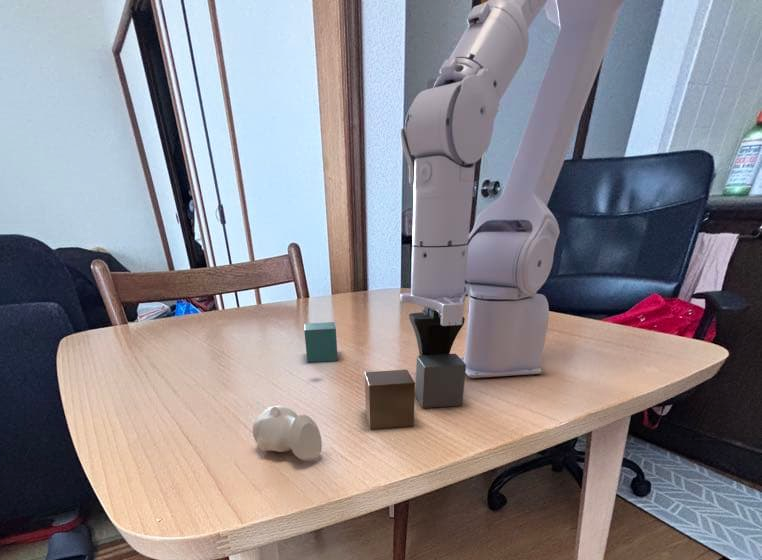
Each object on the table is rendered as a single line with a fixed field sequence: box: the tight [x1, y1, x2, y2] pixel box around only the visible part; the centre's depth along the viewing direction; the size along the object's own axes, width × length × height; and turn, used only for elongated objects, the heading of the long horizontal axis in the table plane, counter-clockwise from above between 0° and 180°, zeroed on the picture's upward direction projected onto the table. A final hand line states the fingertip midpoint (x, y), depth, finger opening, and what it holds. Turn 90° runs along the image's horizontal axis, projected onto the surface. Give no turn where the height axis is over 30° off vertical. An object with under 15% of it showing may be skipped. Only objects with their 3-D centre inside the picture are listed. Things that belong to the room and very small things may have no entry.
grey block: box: [415, 353, 466, 409], centre depth 53 cm, size 4×4×4 cm
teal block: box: [303, 321, 339, 364], centre depth 69 cm, size 4×4×4 cm
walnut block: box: [364, 369, 416, 430], centre depth 48 cm, size 4×4×4 cm
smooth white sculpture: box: [252, 405, 323, 461], centre depth 43 cm, size 4×8×5 cm
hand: (432, 378), depth 56 cm, fingers closed
